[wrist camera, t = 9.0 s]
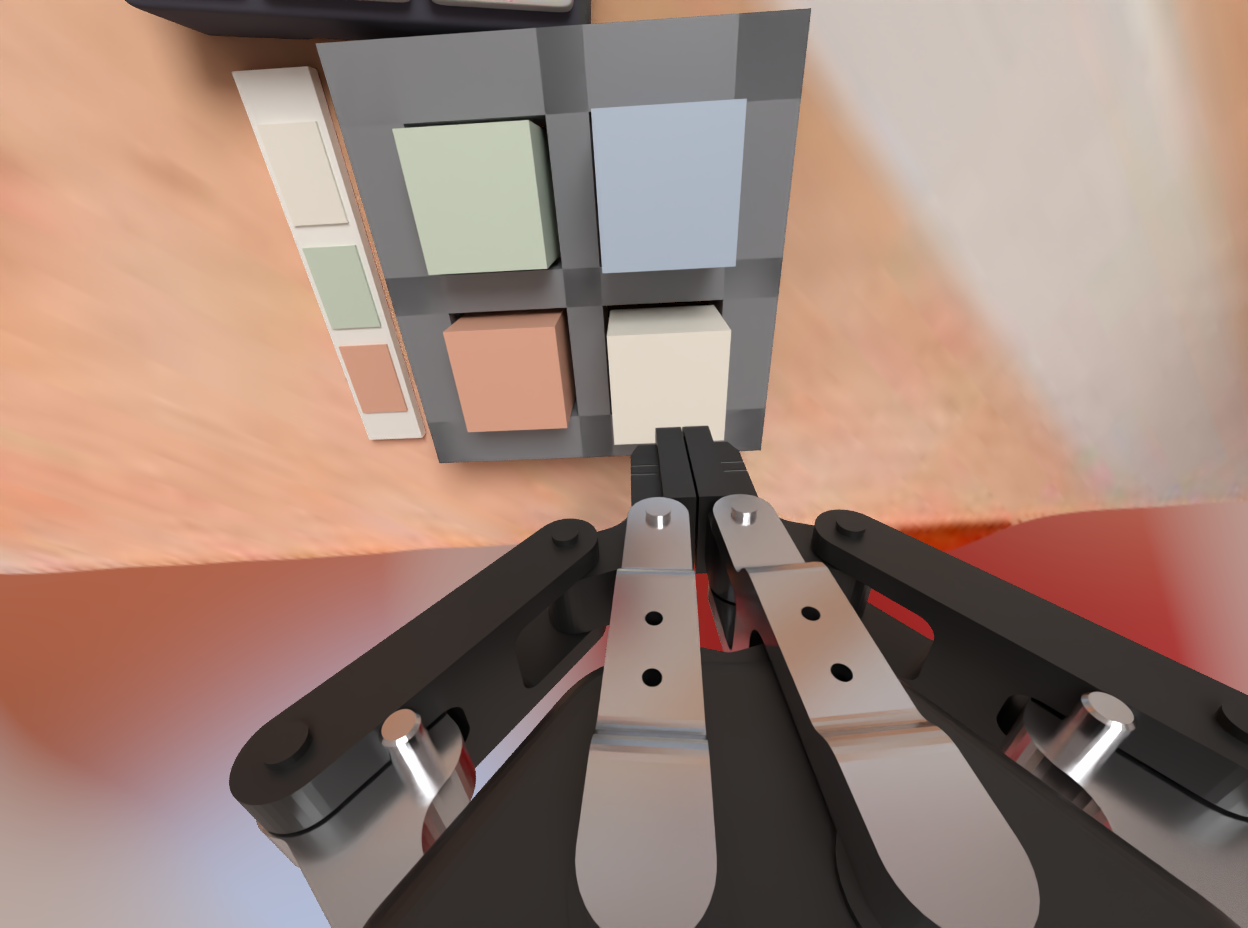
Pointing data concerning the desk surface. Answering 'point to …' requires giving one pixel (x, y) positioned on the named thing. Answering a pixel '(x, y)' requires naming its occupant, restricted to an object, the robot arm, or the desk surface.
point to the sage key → (481, 195)
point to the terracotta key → (513, 369)
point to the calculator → (364, 16)
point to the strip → (332, 242)
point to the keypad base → (575, 195)
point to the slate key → (669, 184)
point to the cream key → (667, 370)
